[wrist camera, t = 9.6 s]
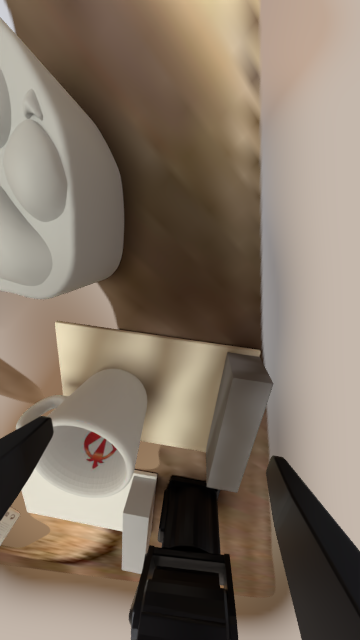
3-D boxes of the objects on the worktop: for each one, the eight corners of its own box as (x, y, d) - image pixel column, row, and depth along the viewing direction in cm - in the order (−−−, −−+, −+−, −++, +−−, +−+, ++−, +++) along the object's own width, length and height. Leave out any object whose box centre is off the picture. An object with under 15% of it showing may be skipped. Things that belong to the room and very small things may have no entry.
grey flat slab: (157, 474, 27) (149, 515, 23) (150, 533, 32) (143, 576, 28) (13, 447, 28) (-19, 482, 24) (29, 509, 33) (4, 546, 29)
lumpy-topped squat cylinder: (19, 273, 19) (-113, 295, 11) (-19, 92, 15) (-286, -94, 7) (126, 283, 19) (67, 312, 10) (121, 94, 14) (11, -111, 6)
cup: (65, 410, 24) (3, 485, 17) (54, 350, 21) (-25, 408, 14) (155, 422, 23) (133, 506, 16) (157, 362, 20) (131, 430, 13)
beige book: (259, 350, 19) (275, 378, 15) (230, 453, 24) (236, 495, 20) (57, 320, 20) (21, 340, 16) (69, 425, 25) (43, 460, 21)
